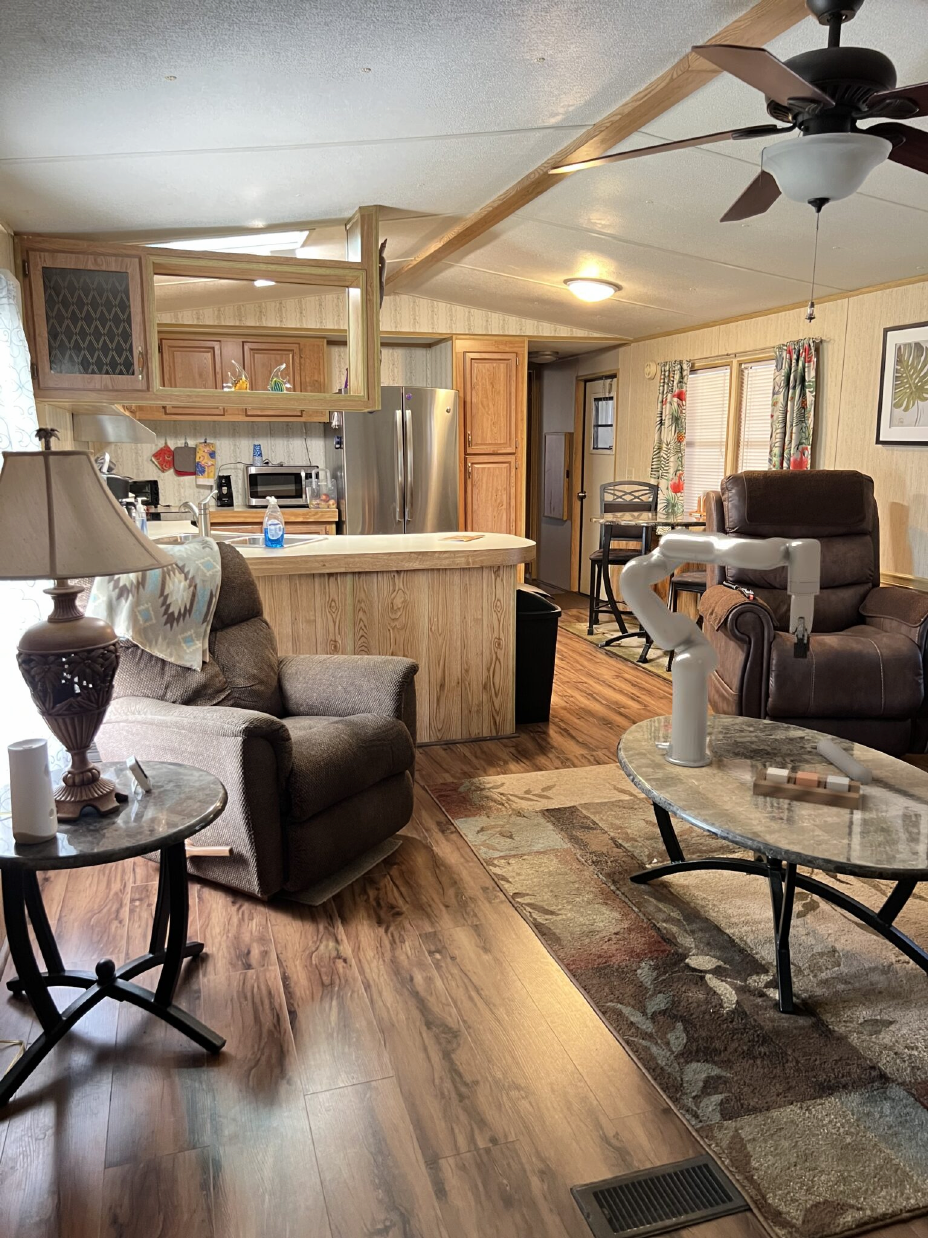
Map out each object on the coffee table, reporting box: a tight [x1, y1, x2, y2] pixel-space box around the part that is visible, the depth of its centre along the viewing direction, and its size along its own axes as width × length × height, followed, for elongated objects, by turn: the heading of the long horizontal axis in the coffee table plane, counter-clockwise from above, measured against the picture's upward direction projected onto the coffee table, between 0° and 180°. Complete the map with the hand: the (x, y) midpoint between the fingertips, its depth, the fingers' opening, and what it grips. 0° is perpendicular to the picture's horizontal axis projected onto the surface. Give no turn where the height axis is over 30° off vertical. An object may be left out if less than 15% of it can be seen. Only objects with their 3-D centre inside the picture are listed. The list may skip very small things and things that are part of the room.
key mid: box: [796, 770, 820, 788], centre depth 221 cm, size 5×5×3 cm
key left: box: [766, 766, 790, 784], centre depth 224 cm, size 5×5×3 cm
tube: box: [816, 738, 873, 785], centre depth 239 cm, size 5×5×25 cm
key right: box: [826, 774, 850, 792], centre depth 218 cm, size 5×5×3 cm
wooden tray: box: [752, 768, 861, 811], centre depth 221 cm, size 24×12×3 cm, turn 65°
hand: (801, 654), depth 228 cm, fingers open, 9 cm apart
